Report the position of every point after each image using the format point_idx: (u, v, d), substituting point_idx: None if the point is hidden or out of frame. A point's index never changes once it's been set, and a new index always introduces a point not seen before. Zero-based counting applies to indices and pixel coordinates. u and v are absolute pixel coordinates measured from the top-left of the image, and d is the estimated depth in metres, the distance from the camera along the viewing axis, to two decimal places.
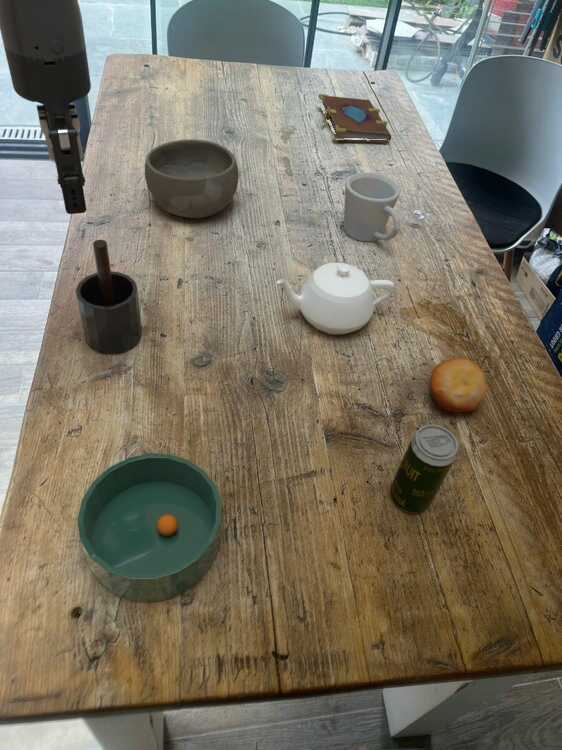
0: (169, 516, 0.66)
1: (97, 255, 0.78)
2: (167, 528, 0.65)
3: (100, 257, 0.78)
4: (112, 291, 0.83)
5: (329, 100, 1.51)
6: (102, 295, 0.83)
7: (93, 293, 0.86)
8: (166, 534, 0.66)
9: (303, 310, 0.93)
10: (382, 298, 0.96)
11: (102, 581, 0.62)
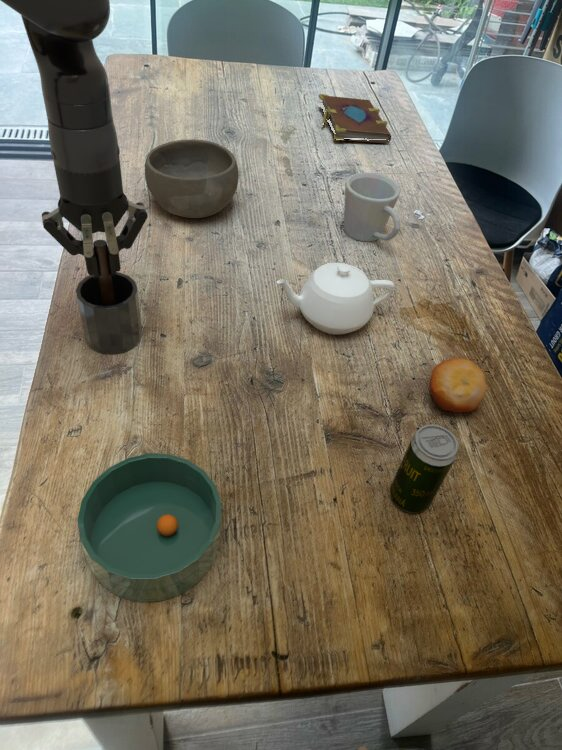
0: (169, 516, 0.66)
1: (98, 255, 0.78)
2: (167, 528, 0.65)
3: (100, 257, 0.78)
4: (112, 291, 0.83)
5: (329, 100, 1.51)
6: (102, 295, 0.83)
7: (93, 293, 0.86)
8: (166, 534, 0.66)
9: (303, 310, 0.93)
10: (382, 298, 0.96)
11: (102, 581, 0.62)
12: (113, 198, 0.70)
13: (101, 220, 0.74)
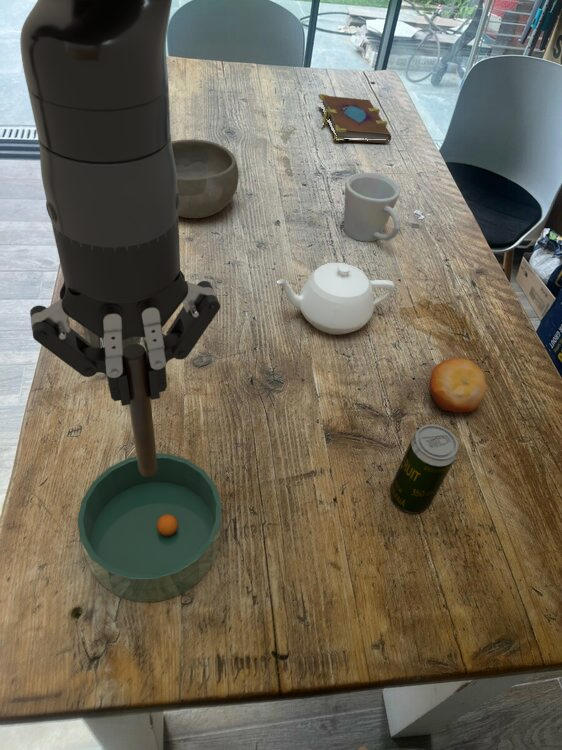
0: (169, 516, 0.66)
1: (129, 371, 0.44)
2: (167, 528, 0.65)
3: (134, 375, 0.45)
4: (151, 419, 0.50)
5: (329, 100, 1.51)
6: (134, 426, 0.50)
7: None
8: (166, 534, 0.66)
9: (303, 310, 0.93)
10: (382, 298, 0.96)
11: (102, 581, 0.62)
12: (165, 286, 0.37)
13: (139, 319, 0.41)
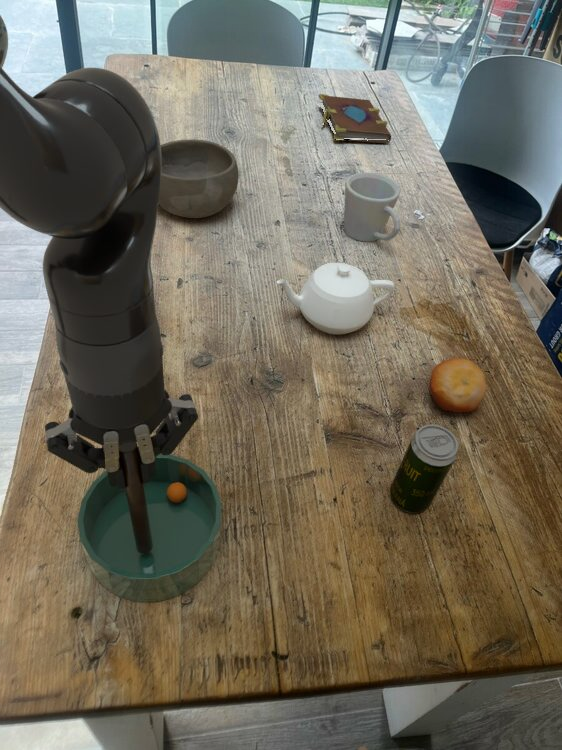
0: (176, 502, 0.69)
1: (121, 461, 0.54)
2: None
3: (125, 465, 0.55)
4: (142, 504, 0.59)
5: (329, 100, 1.51)
6: (129, 506, 0.59)
7: None
8: None
9: (303, 310, 0.93)
10: (382, 298, 0.96)
11: (102, 581, 0.62)
12: (152, 413, 0.47)
13: (132, 430, 0.50)
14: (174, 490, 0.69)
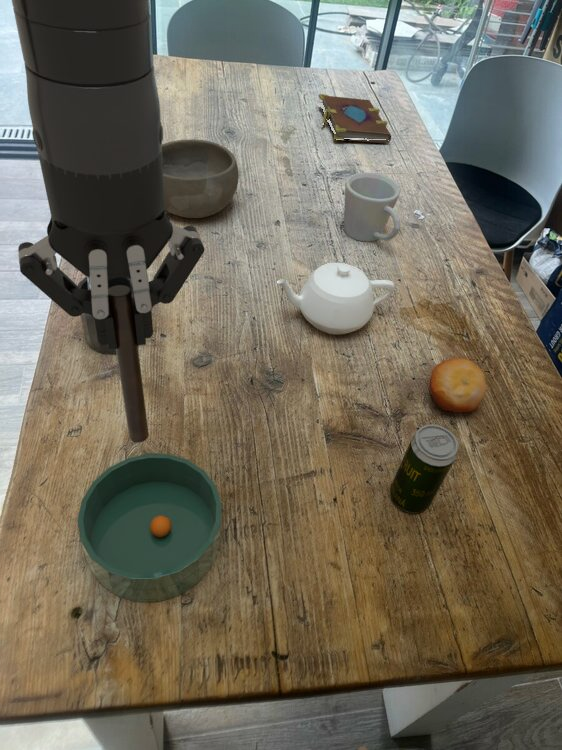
0: (163, 520, 0.66)
1: (112, 309, 0.46)
2: (158, 532, 0.65)
3: (116, 315, 0.46)
4: (136, 374, 0.50)
5: (329, 100, 1.51)
6: (120, 377, 0.50)
7: None
8: (157, 536, 0.66)
9: (303, 310, 0.93)
10: (382, 298, 0.96)
11: (102, 581, 0.62)
12: (149, 221, 0.38)
13: (124, 258, 0.42)
14: None
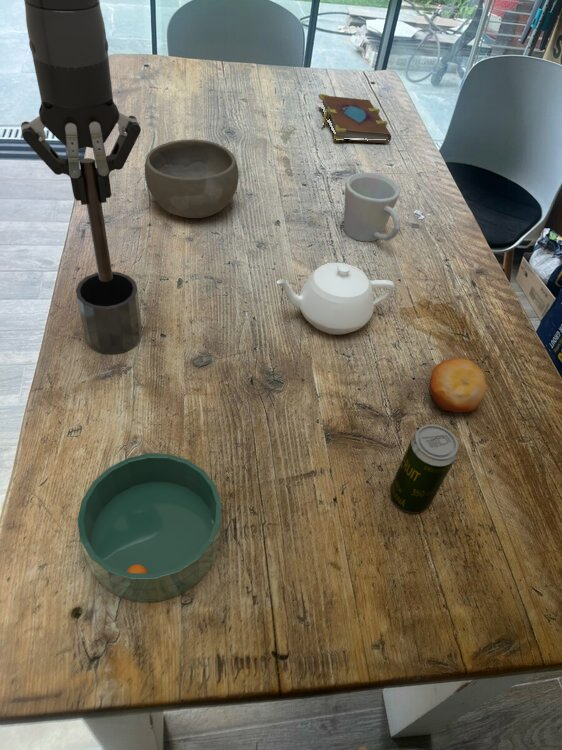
0: (143, 566, 0.63)
1: (82, 173, 0.69)
2: (137, 572, 0.61)
3: (85, 177, 0.70)
4: (101, 224, 0.74)
5: (329, 100, 1.51)
6: None
7: (93, 293, 0.86)
8: None
9: (303, 310, 0.93)
10: (382, 298, 0.96)
11: (102, 581, 0.62)
12: (101, 102, 0.62)
13: (88, 132, 0.66)
14: None
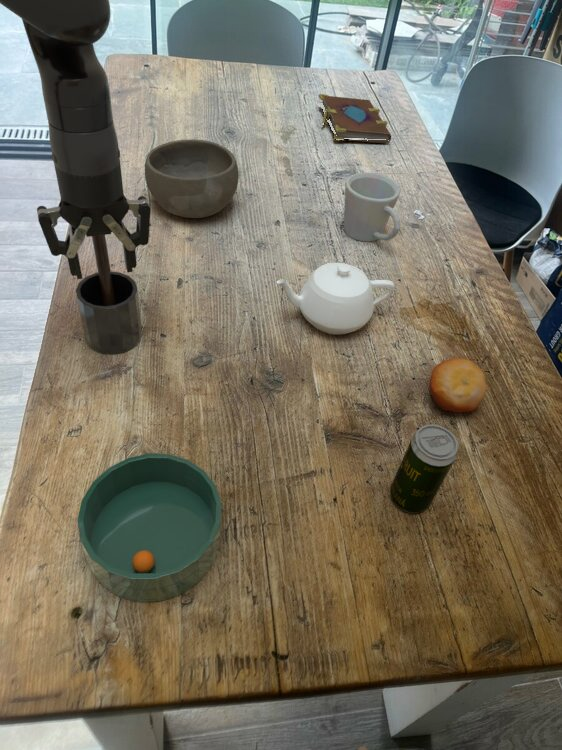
0: None
1: (93, 238, 0.82)
2: (150, 552, 0.64)
3: (95, 241, 0.82)
4: (110, 284, 0.84)
5: (329, 100, 1.51)
6: (101, 288, 0.85)
7: (93, 293, 0.86)
8: (146, 552, 0.63)
9: (303, 310, 0.93)
10: (382, 298, 0.96)
11: (102, 581, 0.62)
12: (113, 201, 0.70)
13: (105, 223, 0.74)
14: (138, 572, 0.63)
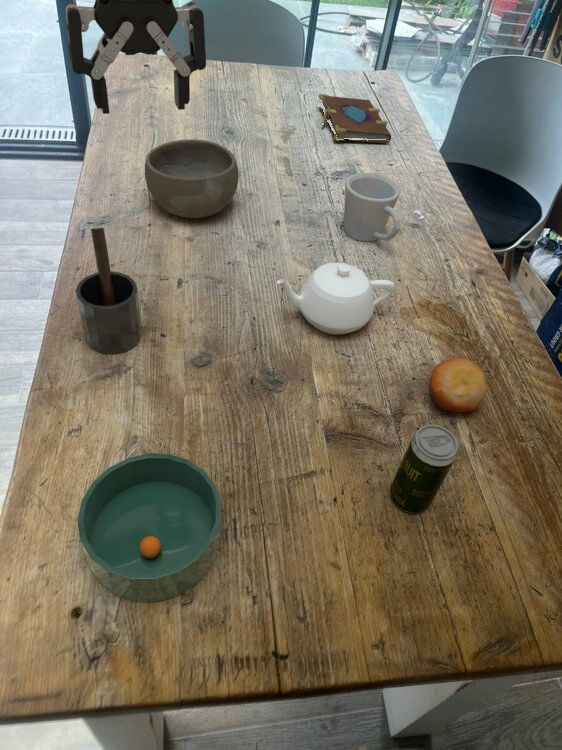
0: (149, 558, 0.64)
1: (93, 238, 0.82)
2: None
3: (95, 241, 0.82)
4: (110, 284, 0.84)
5: (329, 100, 1.51)
6: (101, 288, 0.85)
7: (93, 293, 0.86)
8: None
9: (303, 310, 0.93)
10: (382, 298, 0.96)
11: (102, 581, 0.62)
12: None
13: (151, 37, 0.61)
14: (147, 544, 0.64)
